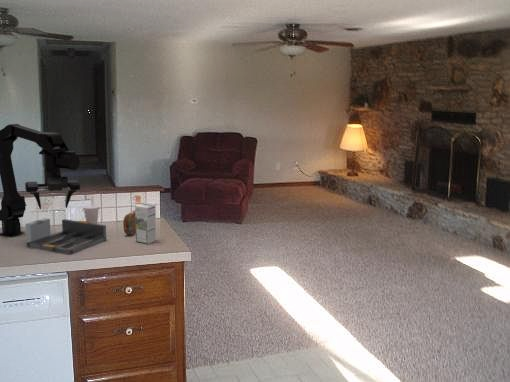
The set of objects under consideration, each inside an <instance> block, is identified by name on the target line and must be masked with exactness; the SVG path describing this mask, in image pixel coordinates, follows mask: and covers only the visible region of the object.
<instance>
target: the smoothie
mask: <svg viewBox="0 0 510 382" xmlns="http://www.w3.org/2000/svg"><path fill="white" fill-rule="evenodd" d="M82 208H83V209H82V210H83V211H84V218H85V221H87V222H90V223H94V224H98V221H99V220H98V219H99V210H100V205H98V204H94V196H93V195H91V204H87V205H84V206H82Z"/></svg>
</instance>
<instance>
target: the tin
mask: <svg viewBox="0 0 510 382" xmlns="http://www.w3.org/2000/svg"><path fill="white" fill-rule="evenodd" d="M122 223H123V231H124V234H126V235H127V236H128V235H130V236H131V235H136V221H135V209H134V210H132V211H131V212H129V213H127V214H125V216H124V217H123V220H122Z"/></svg>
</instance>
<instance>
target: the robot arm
mask: <svg viewBox="0 0 510 382" xmlns="http://www.w3.org/2000/svg"><path fill="white" fill-rule="evenodd" d="M62 136H63V135H62V134H61V133H59V132H54V131H53V132H48V131H47V132H45V131H44V132H43V131H39V130H37V129H33V128H29V127H27V126H23V125H21V124H19V123H12V124H11V123H10V124H7V125H5V127H3V128H1V129H0V181H1V186H2V191H3V196H2V199H1V201H0V222H1V230H2V232H0V236H5V237H9V238H10V237H15V236H17V235H21V234H24V231H22V229H21V222H20V219H21V218H23V217H24V214H25V211H26V210H27V209H26V207H27V203H26V197H25V196H24V195H21V194H20V193H19V192H18V189H17V188H18V186H17V182H16V177H15V171H14V166H13V162H12V161H13V160H12V154H13V152H14V142H16V141H17V140H18V138H21V139H23V140H26V141H29V142H33V143H35V144H36V145H37V146H38V147H40V148H42V150H40V151H39V152H38V154H39V155H42V156H43V169H44V173H43V174H44V178H43V179H44V183H38V181H26V182H25V183H24V185H25V186H24V188H25V191H26V193H29V194H30V195H33V196H34V198H35V200H36V203H37V206H38V208H39V210H42V204H41V203H42V202H41V197H40V192H39V190H44V189H45V190H46V189H47V190H48V191H49V192H53V191H54V192H55V191H63V189H65V201H64V202H65V204H64V206H65V208H66V209H67V208H68V206H69V202H70V200H71V197H72V196H73V194H74V193H77V191H80V190H81V183H80V182H79V181H78V180H77V179H72V180H71V179H69V178H68V176H62V174H61V173H62V172H61V171H62V170H68V171H76V170H78V168H79V167H80V161H81V160H80V158H79V157H78V155H76V151H74V150H72V151H70V149H69V147H68V146H67V144H66V142H65V140H64V138H63V137H62Z"/></svg>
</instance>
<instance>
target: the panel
mask: <svg viewBox="0 0 510 382" xmlns="http://www.w3.org/2000/svg"><path fill="white" fill-rule="evenodd" d="M51 231H52V230H51V219H50V218H46V217H45V218H41V219H38V220H37V219H36V220H34V221H31V222H27V223H25V238H26V239H25V240H26V241H25V242H26V243H28V242H31V241H34V240H37V239H40V238H43V237H46V236H49V235H52V234H51V233H52V232H51Z"/></svg>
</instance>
